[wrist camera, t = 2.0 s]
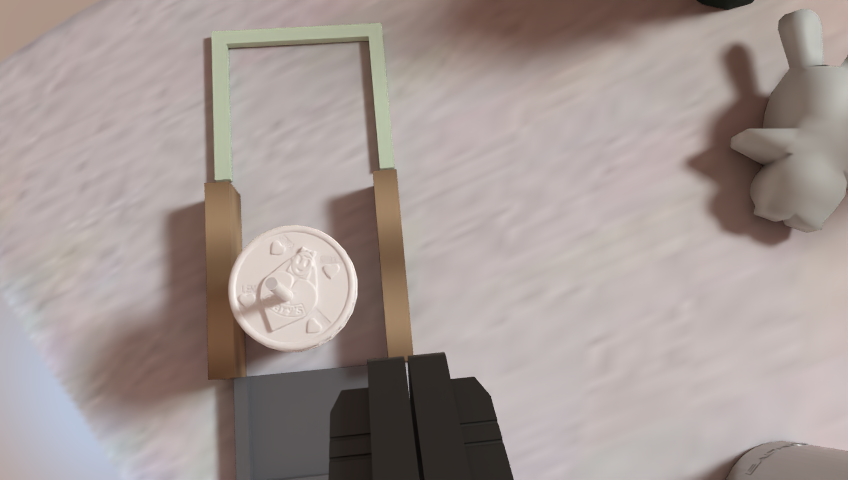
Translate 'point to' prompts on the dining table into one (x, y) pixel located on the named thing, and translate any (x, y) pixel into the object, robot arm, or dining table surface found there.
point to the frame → (294, 37)
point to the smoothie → (292, 288)
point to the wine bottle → (725, 3)
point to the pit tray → (288, 422)
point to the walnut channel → (227, 246)
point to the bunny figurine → (801, 133)
